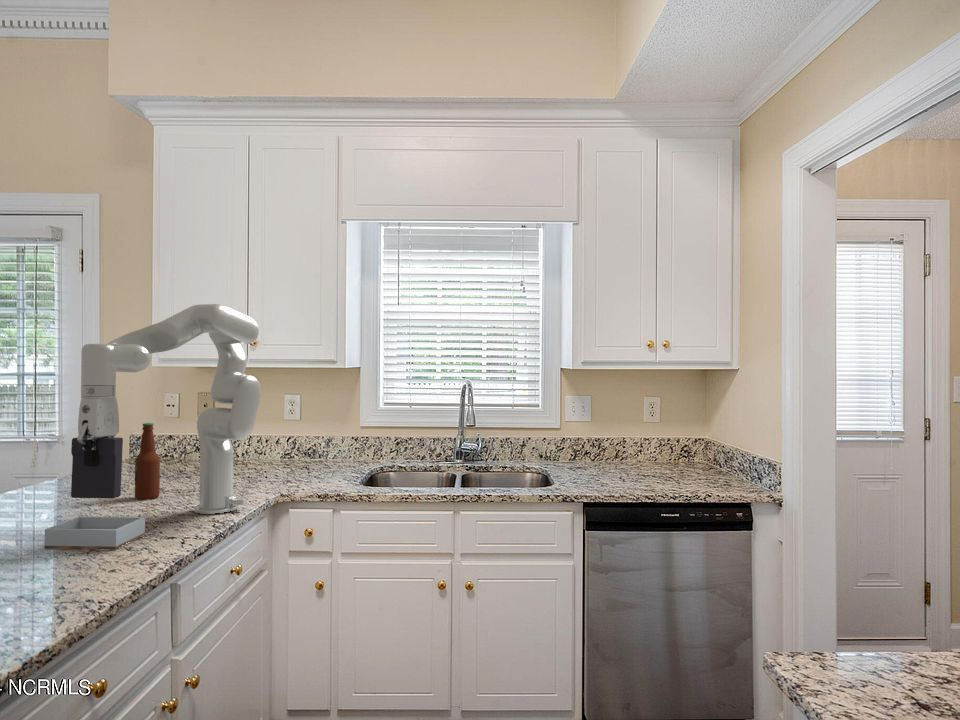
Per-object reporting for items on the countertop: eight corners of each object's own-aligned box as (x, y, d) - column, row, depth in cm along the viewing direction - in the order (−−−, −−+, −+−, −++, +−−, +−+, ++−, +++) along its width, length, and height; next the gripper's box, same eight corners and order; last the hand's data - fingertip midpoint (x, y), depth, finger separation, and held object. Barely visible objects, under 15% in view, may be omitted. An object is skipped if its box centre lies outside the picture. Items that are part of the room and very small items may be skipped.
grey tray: (144, 532, 163) (145, 517, 163) (116, 546, 151) (116, 530, 151) (78, 531, 164) (79, 516, 164) (44, 545, 151) (44, 529, 151)
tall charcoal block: (122, 496, 159) (125, 437, 159) (112, 499, 154) (114, 438, 155) (80, 495, 159) (82, 436, 160) (68, 498, 155) (71, 438, 155)
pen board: (144, 535, 163) (144, 532, 163) (115, 550, 151) (116, 546, 151) (78, 534, 164) (78, 531, 164) (44, 548, 151) (44, 545, 151)
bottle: (153, 494, 212) (154, 421, 213) (163, 497, 208) (164, 423, 208) (130, 498, 207) (131, 423, 207) (140, 501, 202) (141, 424, 202)
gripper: (91, 394, 149) (90, 470, 149) (132, 391, 166) (131, 459, 166) (60, 393, 149) (59, 470, 149) (104, 390, 166) (103, 459, 166)
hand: (97, 463), depth 157 cm, fingers closed on tall charcoal block, 4 cm apart
